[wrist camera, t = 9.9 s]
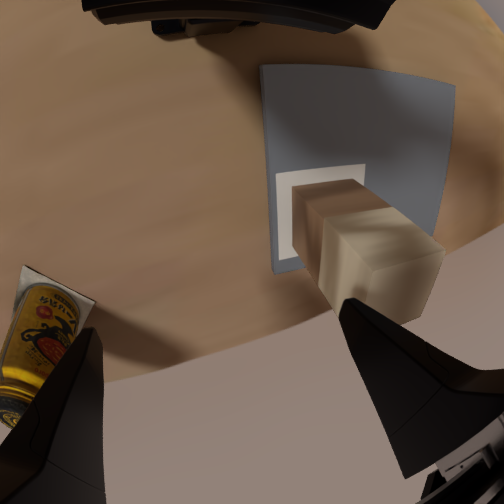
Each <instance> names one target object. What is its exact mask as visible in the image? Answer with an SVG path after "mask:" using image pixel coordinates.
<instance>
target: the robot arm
mask: <svg viewBox="0 0 504 504" xmlns="http://www.w3.org/2000/svg"><path fill="white" fill-rule="evenodd" d="M81 1H82V8H83V11H84V12H86V11H92V13H93V15H94V16H95V17H96V18H97V19H98V20H99V21H100V22H101V23H102V24H104V25H109V24H115V23H116V24H117V25H118V24H125V23H133V22H141V21H151V25H152V31H153V33H154V34H155V35H157V36H164V35H169V34H175V33H181V32H185V35H187V36H188V37H191V36H199V35H207V34H217V33H229V32H231V31H232V30H233V29H234V28H236V27H242V26H256V25H257V24H259V23H260V22H265V23H272V24H280V25H286V26H292V27H298V28H303V29H308V30H313V31H318V32H328V33H332V34H337V33H340V32H343V31H346V30H347V29H349V28H350V27H352V26H353V25H355V24H357V25H360V26H363V27H366V28H369V29H372V30H375V29H377V28H378V26H379V25H380V23H381V21H382V20H383V18H384V16H385V15H386V13H387V11H388V10H389V8H390V6H391V5H392V4H393V3H394V2H395V1H396V0H81ZM253 21H255V22H253ZM160 25H163V26H164V27H165V28H164V30H163V31H157V30H156V29H157V27H158V26H160ZM339 321H340V324H341V327H342V330H343V333H344V336H345V338H346V341H347V344H348V347H349V350H350V352H351V355H352V357H353V359H354V362H355V364H356V366H357V368H358V370H359V372H360V375H361V377H362V379H363V381H364V383H365V385H366V388H367V390H368V392H369V395H370V396H371V399H372V401H373V404H374V406H375V408H376V411H377V413H378V415H379V417H380V420H381V422H382V424H383V427H384V429H385V432H386V434H387V436H388V439H389V442H390V444H391V446H392V449H393V451H394V454H395V456H396V459H397V461H398V464H399V466H400V469H401V471H402V474H403V476H404V478H405V479H407V478H409V477H411V476H413V475H415V474H416V473H418V472H420V471H422V470H424V469H425V468H427V467H429V466H431V465H432V464H434V463H435V464H436V465H437V467H438V469H436V470H435V471H433V472H432V473H430V474H429V475H428V477H427V480H426V483H425V487H424V490H423V493H422V496H421V501H419V502H417V503H416V504H504V369H497V370H479V369H476V368H473V367H471V366H469V365H467V364H465V363H463V362H461V361H460V360H458V359H456V358H454V357H452V356H450V355H448V354H446V353H444V352H443V351H441V350H439V349H438V348H436V347H434V346H432V345H431V344H429V343H428V342H425V341H424V340H423V339H421V338H420V337H418V336H416V335H415V334H413V333H412V332H410V331H408V330H407V329H405V328H403V327H402V326H400V325H399V324H397V323H396V322H394V321H392V320H391V319H389V318H387V317H386V316H384V315H383V314H381V313H379V312H378V311H376V310H374V309H373V308H371V307H370V306H368V305H366V304H365V303H363V302H361V301H360V300H358V299H356V298H354V297H352V298H347V299H345V300H344V301H343V303H342V306H341V309H340V312H339ZM103 397H104V377H103V347H102V343H101V340H100V338H99V336H98V334H97V331H96V329H95V328H94V327H85V328H83V329H82V330H81V331H80V333H79V334H78V335H77V337H76V338H75V339H74V341H73V342H72V343H71V345H70V346H69V347H68V349H67V350H66V352H65V353H64V354H63V356H62V357H61V358H60V360H59V361H58V363H57V364H56V366H55V367H54V368H53V370H52V371H51V373H50V374H49V376H48V377H47V379H46V380H45V381H44V383H43V384H42V386H41V387H40V389H39V390H38V392H37V394H36V395H35V397H34V400H32V401H31V403H30V404H29V406H28V407H27V409H26V410H25V412H24V413H23V415H22V416H21V418H20V419H19V421H18V422H17V423H16V425H15V426H14V428H13V429H12V430H11V431H10V433H9V434H8V436H7V437H6V438H5V440H4V441H3V442H2V444H1V445H0V504H106V494H105V484H104V468H103Z"/></svg>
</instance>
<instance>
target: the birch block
mask: <svg viewBox="0 0 504 504" xmlns="http://www.w3.org/2000/svg"><path fill="white" fill-rule="evenodd" d="M445 252H446V249H445V248H443V247H442V246H441V245H440V244H439V243H438V242H436V241H435V240H434V239H433V238H432V237H431V236H429V235H428V234H427V233H426V232H424V231H423V230H422V229H421V228H420V227H418V226H417V225H416V224H415V223H413V222H412V221H411V220H410V219H408V218H407V217H406V216H404V215H403V214H402V213H401V212H399V211H398V210H397V209H395V208H394V207H389V208H382V209H376V210H369V211H363V212H357V213H350V214H344V215H338V216H332V217H326V218H324V227H323V240H322V251H321V262H320V272H319V282H318V287H319V288H320V290H321V291H322V293H323V294H324V296H325V298H326V299H327V301H328V302H329V304H330V306H331V307H332V309H333V310H334V312H335V313H336V315H337V317H338V318H339V312H340V309H341V306H342V303H343V301H344V300H345V299H347V298H352V297H354V298H356V299H358V300H360V301H361V302H363V303H365V304H366V305H368V306H370V307H371V308H373V309H374V310H376V311H378V312H379V313H381V314H383V315H384V316H386V317H387V318H389V319H391V320H392V321H394V322H396V323H397V324H399V325H401V324H404V323H407V322H409V321H411V320H414V319H416V318H418V317H420V316H421V314H422V311H423V309H424V307H425V304H426V302H427V300H428V297H429V295H430V293H431V290H432V288H433V285H434V282H435V280H436V277H437V274H438V271H439V269H440V266H441V264H442V261H443V258H444V255H445Z"/></svg>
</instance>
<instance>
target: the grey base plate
mask: <svg viewBox="0 0 504 504" xmlns="http://www.w3.org/2000/svg"><path fill="white" fill-rule="evenodd" d="M259 71H260V83H261V96H262V110H263V124H264V139H265V154H266V170H267V186H268V204H269V222H270V241H271V262H272V270H273V272H274V274H275V275H276V274H280V273H284V272H289V271H293V270H297V269H302V268H306V267H305V265H304V264H303V262H302V260H301V259H300V257H299V256H298V254H297V253H296V251H295V250H294V248H293V247H292V186H298V185H306V184H313V183H320V182H328V181H336V180H344V179H354V180H356V181H357V182H359V183H360V184H361V185H363V186H364V187H366V188H367V189H369V190H370V191H371V192H373V193H374V194H376V195H377V196H378V197H380V198H381V199H382V200H384V201H385V202H387V203H388V204H389V205H391V206H392V207H394V208H395V209H397V210H398V211H399V212H401V213H402V214H403V215H404V216H406V217H407V218H408V219H410V220H411V221H412V222H413V223H415V224H416V225H417V226H418V227H420V228H421V229H422V230H423V231H424V232H426V233H427V234H428V235H429V236H433V233H434V229H435V225H436V221H437V217H438V213H439V208H440V204H441V199H442V195H443V190H444V184H445V179H446V173H447V167H448V161H449V154H450V147H451V139H452V130H453V119H454V106H455V85H452V84H448V83H444V82H440V81H436V80H432V79H427V78H423V77H418V76H413V75H408V74H402V73H397V72H391V71H384V70H377V69H369V68H360V67H350V66H337V65H318V64H267V65H259Z"/></svg>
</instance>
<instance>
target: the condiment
mask: <svg viewBox="0 0 504 504" xmlns="http://www.w3.org/2000/svg"><path fill="white" fill-rule="evenodd" d="M94 303H95V302H94V301H92V300H89V299H88V298H86V297H83V296H82V295H80V294H78V293H76V292H74V291H72V290H70V289H68V288H66V287H65V286H63V285H61V284H59V283H56V282H55V281H53V280H50V279H49V278H47V277H45V276H43V275H41V274H38V273H36V272H34V271H32V270H31V269H29V268H27V267H25V266H24V265H23V268H22V272H21V276H20V280H19V285H18V289H17V294H16V299H15V303H14V308H13V314H12V320H11V325H10V328H9V330H8V333H7V336H6V339H5V341H4V344H3V347H2V350H1V353H0V421H1V422H2V423H3V424H5V425H6V426H7V427H9V428H11V429H13V428H14V426H15V425H16V423H17V422H18V421H19V419H20V418H21V416H22V415H23V413H24V412H25V410H26V409H27V407H28V406H29V404H30V403H31V401H32V400H34V397H35V395H36V394H37V392H38V390H39V389H40V387H41V386H42V384H43V383H44V381H45V380H46V379H47V377H48V376H49V374H50V373H51V371H52V370H53V368H54V367H55V366H56V364H57V363H58V361H59V360H60V358H61V357H62V356H63V354H64V353H65V352H66V350H67V349H68V347H69V346H70V345H71V343H72V342H73V341H74V339H75V338H76V337H77V335H78V334H79V333H80V331H81V329H82V327H83V325H84V323H85V321H86V319H87V317H88V315H89V313H90V311H91V309H92V307H93V305H94Z"/></svg>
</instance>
